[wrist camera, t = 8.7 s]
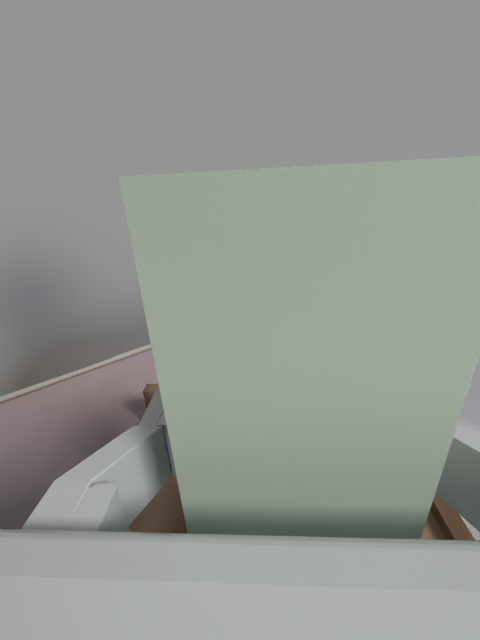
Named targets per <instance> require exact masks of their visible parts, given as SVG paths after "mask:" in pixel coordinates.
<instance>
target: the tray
mask: <svg viewBox="0 0 480 640" xmlns="http://www.w3.org/2000/svg"><path fill="white" fill-rule="evenodd" d="M158 389H160V388H159V384H147V385H146V387H145V389H144V391H143V394H144V398H145V403H146V407H148V405H149V403H150V401H151V399H152V397H153V395H154V393H155V391H157V390H158ZM129 529H130V532H143V533H184V534H188V533H187V528H186V523H185V518H184V512H183V507H182V502H181V497H180V492H179V487H178V481H177V476H176V475H172V477H171V478H170V479H169V480H168V482H167V483H166V484H165V485H164V486H163V487H162V489H161V490H160V491H159V492H158V493H157V494H156V495H155V497H154V498H153V499H152V500H151V501H150V502H149V504H148V505H147V506H146V507H145V508H144V509H143V510H142V512H141V513H140V514H139V515H138V516H137V517H136V518H135V520H134V521H133V522H132V523H131V524H130V525H129ZM421 539H431V540H474V541H475V539H474V538H473V536H472V534H471V533H470V531H469V530H468V528H467V526H466V525H465V523H464V522H463V520H462V518H461V517H460V515H459V514H458V512H457V511H455V510H454V509H453V508H452V507H451V506H450V505H449V504H448V503H446V502H445V501H444V500H443V499H442V498H441V497H440V496H439V495H437V494H436V493H435V496H434V499H433V502H432V505H431V508H430V511H429V514H428V517H427V521H426V524H425V527H424V530H423V533H422V536H421Z"/></svg>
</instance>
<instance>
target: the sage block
mask: <svg viewBox="0 0 480 640" xmlns="http://www.w3.org/2000/svg"><path fill="white" fill-rule="evenodd" d="M119 181H120V186H121V192H122V197H123V202H124V208H125V213H126V218H127V223H128V228H129V233H130V238H131V244H132V249H133V254H134V259H135V264H136V269H137V275H138V280H139V285H140V290H141V295H142V301H143V306H144V311H145V316H146V321H147V326H148V331H149V337H150V342H151V347H152V352H153V357H154V363H155V368H156V373H157V378H158V383H159V388H160V394H161V399H162V404H163V409H164V414H165V419H166V425H167V430H168V435H169V440H170V445H171V450H172V456H173V461H174V466H175V471H176V476H177V481H178V487H179V492H180V497H181V502H182V507H183V512H184V518H185V523H186V528H187V533H188V534H225V535H266V536H306V537H347V538H388V539H421V536H422V533H423V530H424V527H425V524H426V521H427V517H428V514H429V511H430V508H431V505H432V502H433V499H434V496H435V493H436V490H437V486H438V483H439V480H440V477H441V474H442V471H443V468H444V465H445V462H446V459H447V455H448V452H449V449H450V446H451V443H452V440H453V437H454V434H455V431H456V428H457V424H458V421H459V418H460V415H461V412H462V409H463V406H464V403H465V400H466V396H467V393H468V390H469V387H470V384H471V381H472V378H473V375H474V371H475V369H476V365H477V362H478V359H479V356H480V156H474V157H457V158H441V159H440V158H439V159H422V160H405V161H388V162H370V163H353V164H335V165H317V166H300V167H284V168H283V167H282V168H266V169H248V170H230V171H214V172H195V173H178V174H160V175H143V176H126V177H119Z"/></svg>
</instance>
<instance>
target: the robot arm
mask: <svg viewBox="0 0 480 640" xmlns="http://www.w3.org/2000/svg"><path fill="white" fill-rule="evenodd" d="M172 475H176V471H175V466H174V461H173V456H172V450H171V445H170V440H169V435H168V430H167V425H166V419H165V414H164V409H163V404H162V399H161V394H160V389H158V390H157V391H155V393H154V395H153V397H152V399H151V401H150V403H149V405H148V407H147V409H146V411H145V413H144V415H143V417H142V419H141V421H140V423H139V425H138V426H132V427H131V428H130V429H128V430H127V431H125V432H124V433H122V434H121V435H119V436H118V437H117V438H115V439H114V440H112V441H111V442H109V443H108V444H106V445H105V446H104V447H102V448H101V449H99V450H98V451H96V452H95V453H93V454H92V455H91V456H89V457H88V458H86V459H85V460H83V461H82V462H80V463H79V464H78V465H76V466H75V467H73V468H72V469H70V470H69V471H68V472H66V473H65V474H63V475H62V476H60V477H59V478H57V479H56V480H55V481H54V482H53V483H52V485H51V486H50V488H49V489H48V490H47V492H46V493H45V495H44V496H43V498H42V499H41V501H40V502H39V503H38V505H37V506H36V508H35V509H34V511H33V512H32V514H31V515H30V516H29V518H28V519H27V521H26V522H25V524H24V525H23V527H22V528H21V529H20V530H18V529H0V640H480V541H474V540H431V539H388V538H347V537H306V536H266V535H225V534H184V533H143V532H130V529H129V525H130V524H131V523H132V522H133V521H134V520H135V518H136V517H137V516H138V515H139V514H140V513H141V512H142V510H143V509H144V508H145V507H146V506H147V505H148V504H149V502H150V501H151V500H152V499H153V498H154V497H155V495H156V494H157V493H158V492H159V491H160V490H161V489H162V487H163V486H164V485H165V484H166V483H167V482H168V480H169V479H170V478H171V477H172ZM436 494H437V495H439V496H440V497H441V498H442V499H443V500H444V501H445V502H446V503H448V504H449V505H450V506H451V507H452V508H453V509H454V510H455V511H457V512H458V513H459V514H460V515H461V516H462V517H463V518H465V519H466V520H467V521H468V522H469V523H470V524H471V525H472V526H474V527H475V528H476V529H477V530H478V531H479V532H480V432H478V431H476V430H474V429H473V428H471V427H469V426H462V425H461V424H460V423H459V422H458V424H457V428H456V431H455V434H454V437H453V440H452V443H451V446H450V449H449V452H448V455H447V459H446V462H445V465H444V468H443V471H442V474H441V477H440V480H439V483H438V486H437V490H436Z"/></svg>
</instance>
